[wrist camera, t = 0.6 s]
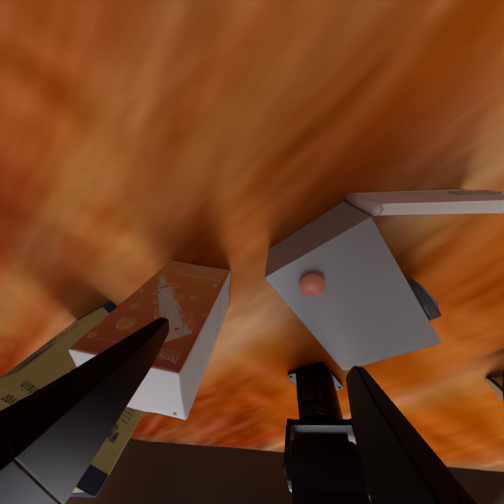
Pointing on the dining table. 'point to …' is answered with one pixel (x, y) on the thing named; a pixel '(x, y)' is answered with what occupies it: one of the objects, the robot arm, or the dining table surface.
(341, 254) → the camera block
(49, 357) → the protein box
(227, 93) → the dining table surface
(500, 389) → the clutch purse
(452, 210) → the side door
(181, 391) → the small box
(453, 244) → the dining table surface
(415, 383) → the dining table surface
